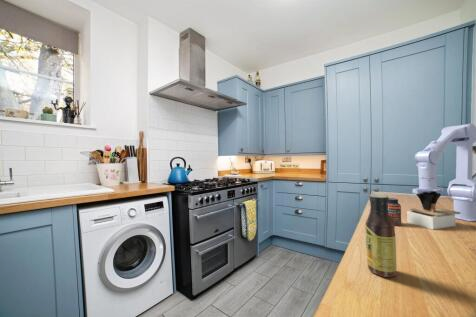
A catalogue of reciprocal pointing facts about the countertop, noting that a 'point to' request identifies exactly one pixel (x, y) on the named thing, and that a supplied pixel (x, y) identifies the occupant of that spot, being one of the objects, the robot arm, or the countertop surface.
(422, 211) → the lid
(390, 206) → the supplement bottle
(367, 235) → the sauce bottle
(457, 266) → the countertop surface
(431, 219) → the carton
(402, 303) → the countertop surface
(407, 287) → the countertop surface
